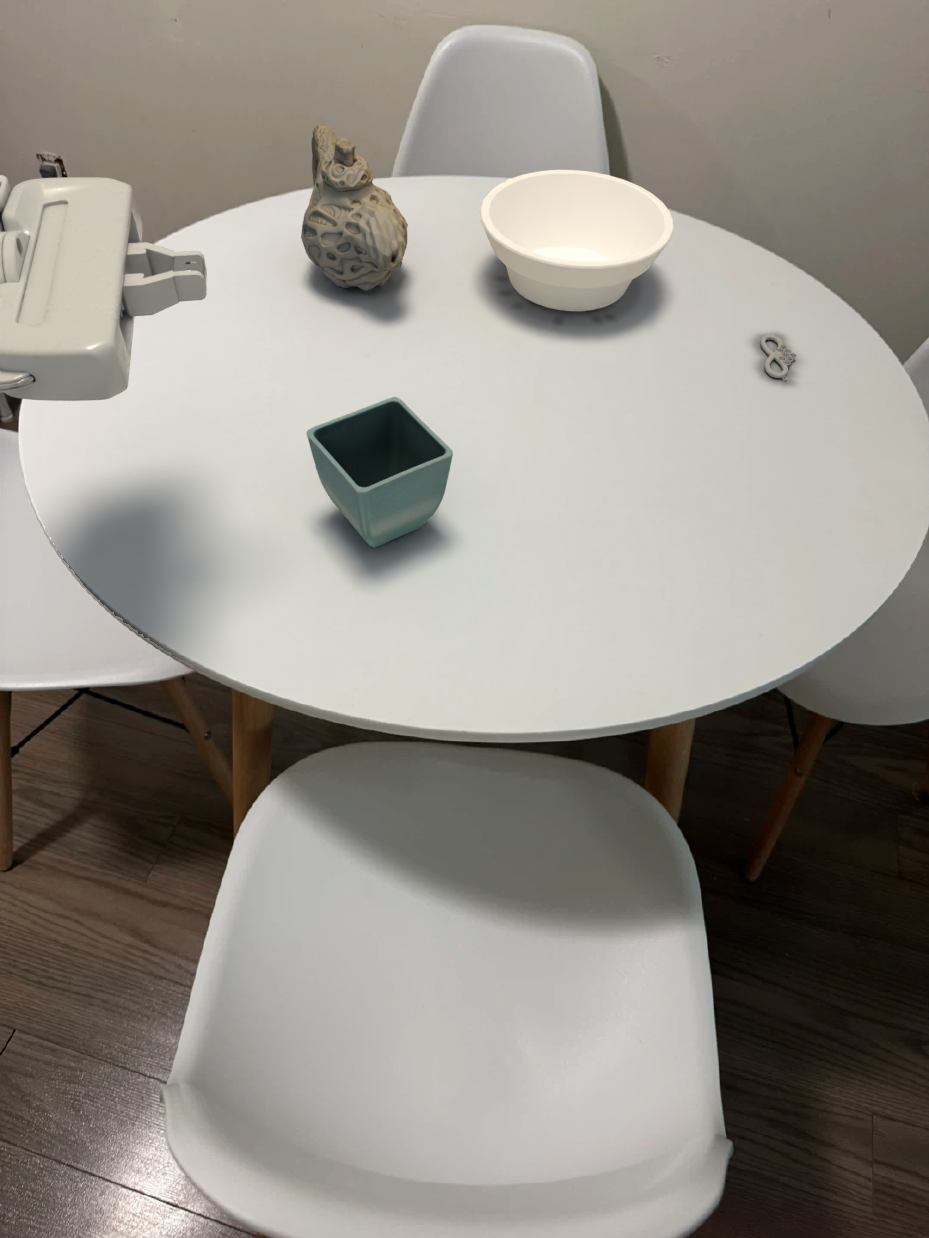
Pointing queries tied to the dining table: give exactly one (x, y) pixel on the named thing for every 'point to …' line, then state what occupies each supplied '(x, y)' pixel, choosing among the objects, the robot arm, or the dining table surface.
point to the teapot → (350, 217)
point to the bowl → (574, 235)
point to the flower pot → (381, 469)
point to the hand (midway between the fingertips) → (205, 275)
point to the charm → (777, 356)
